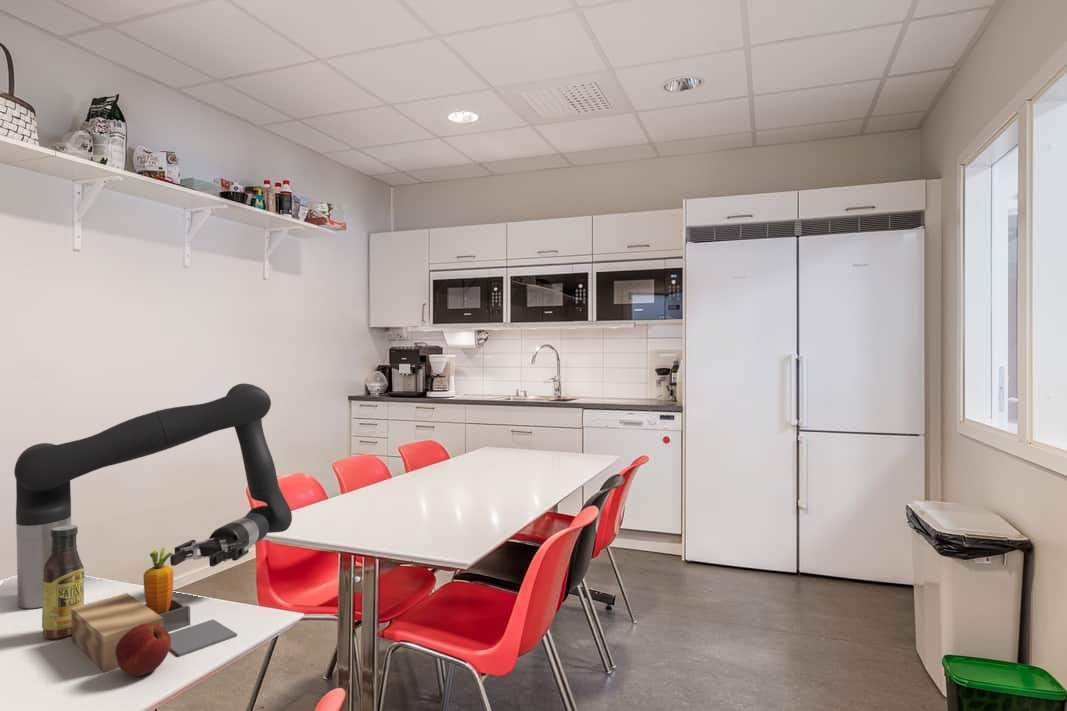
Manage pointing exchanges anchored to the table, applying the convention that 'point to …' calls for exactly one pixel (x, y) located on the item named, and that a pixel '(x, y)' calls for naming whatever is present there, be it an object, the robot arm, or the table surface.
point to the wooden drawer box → (118, 625)
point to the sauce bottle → (62, 583)
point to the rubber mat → (199, 637)
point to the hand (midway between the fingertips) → (191, 561)
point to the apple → (143, 649)
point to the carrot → (159, 584)
